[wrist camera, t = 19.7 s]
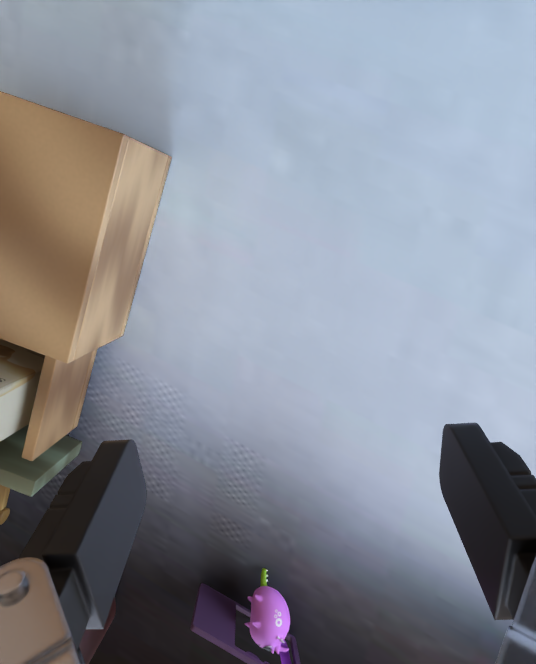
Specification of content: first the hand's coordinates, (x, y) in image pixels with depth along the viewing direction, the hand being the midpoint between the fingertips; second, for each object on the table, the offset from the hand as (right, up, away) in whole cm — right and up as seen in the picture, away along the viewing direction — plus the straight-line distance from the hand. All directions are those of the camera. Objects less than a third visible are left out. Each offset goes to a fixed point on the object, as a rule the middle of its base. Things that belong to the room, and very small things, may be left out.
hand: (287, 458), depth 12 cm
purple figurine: (-1, -18, +27) cm, 32 cm away
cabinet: (-15, +11, +22) cm, 29 cm away
